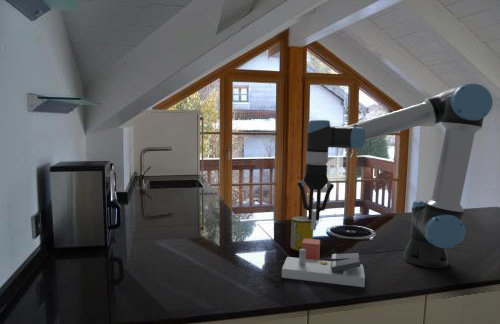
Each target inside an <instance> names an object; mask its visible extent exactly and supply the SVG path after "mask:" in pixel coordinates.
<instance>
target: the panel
mask: <svg viewBox="0 0 500 324" xmlns="http://www.w3.org/2000/svg"><path fill="white" fill-rule="evenodd" d="M298 252H299V255H298V257H291V256H287V257H286V259H285V261H284V262H283V263H284V264H283V265H282V268H281V278H284V279H292V280H298V281H299V280H301V281H308V282H317V283H326V284H335V285H342V286H351V287H359V288H365V286H366V285H365V283H366V282H365V281H366V275H365V269H364V265H363V264H361V263H360V266H361V267H357V268H351V269H346V270H341V271H336V272H332V270H331V260H330V261H329V260H321V259H319V260H313V259H306V250H305V249H300V251H298Z"/></svg>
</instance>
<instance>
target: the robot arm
mask: <svg viewBox="0 0 500 324" xmlns="http://www.w3.org/2000/svg"><path fill="white" fill-rule="evenodd" d="M493 100H494V99H493V96H492V94H491V92H490V91H489V90H488V88H486V87H485V86H484V85H481V84H478V83H463V84H461V85H458V86H456V87H452V88H450V89H447V90H445V91H443V92H441V93H439V94H437V95H434V96H432V97H428V98H425V99H424V100H423V102H422V103H421V102H420V103H418V104H414V105H411V106H408V107H405V108H401V109H399V110H396V111H392V112H389V113H385V114H382V115H379V116H374V117H372V118H369V119H365V120H363V121H358V122H356V123H352V124H349V125H346V126H335V125H331V122H330V120H327V119H311V120H309V122H308V123H307V124H308V125H307V137H306V139H307V140H306V157H305V158H306V159H305V161H306V164H305V176H304V177H303V179H302V180H301V181H298V182H297V186H298V188H299V190H300V195H301V200H302V205H303V209H304V210H306V211H308V216H307V217H308V219H309V220H311V230H313V231H316V229H317V228H316V225H317V221H319V220H320V212H324V211H325V210H326V207H327V204H328V200H329V197H330V195H331V194H330V193H331V192H332V190H333V189H334V188H335V187H334V185H335V184H334V183H331V182H330V181H329V179H328V165H327V164H328V163H329V162H328V160H329V148H332V149H333V148H335V149H336V148H337V149H350V150H351V149H352V150H354V149H355V150H357V149H358V150H359V149H360V150H361V149H363V148H364V146H365V143H366V142H367V141H369V140H373V139H376V138H380V137H384V136H387V135H391V134H394V133H397V132H398V133H399V132H401V131H406V130H409V129H412V128H415V127H418V126H422V125H426V124H431V125H435V124H439V123H441V124H442V126H443V127H444V128H445V132H444V137H443V140H442V146H441V152H440V156H439V162H438V165H437V166H438V167H437V171H436V176H435V177H436V178H435V182H434V186H433V190H432V191H433V192H432V197H431V199H429V200H414V201H413V202H412V205H411V206H412V207H411V217H410V220H411V222H410V237H409V241H408V243H407V245H406V248H405V250H404V252H403V253H404V255H403V259H404V260H405V262H408V263H410V264H412V265H414V266H418V267H422V268H423V267H424V268H429V269H442V268H447V267H448V265H449V256H448V254H447V253H448V252H447V249H450V248H453V247H456V246H458V245H460V243H461V242H462V241H463V239H465V236H466V227H465V225H464V222H463V218H464V214H465V208H463V206H462V205H461V203H462V196H463V192H464V187H465V183H466V182H465V181H466V177H467V172H468V169H469V168H468V167H469V163H470V158H471V153H472V148H473V145H474V139H475V135H476V133H477V132H479V131H480V130H481V129H482V128H483V123H484V118H486V116H488V115H489V113H490V112H491V110H492V107H493V102H494V101H493ZM305 184H306V186H307V188H308V189H309V197H308V199H307V196H306V190H305ZM325 186H326V192H325V195H324V197H323V200H322V204H321V193H322V190H323V189H324V187H325ZM314 190H316V207H315V209H314V210H313V208H314V205H313V204H314ZM307 200H308V201H307Z"/></svg>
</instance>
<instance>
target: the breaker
mask: <svg viewBox="0 0 500 324" xmlns="http://www.w3.org/2000/svg"><path fill="white" fill-rule="evenodd" d="M360 264H361V261H360V256H359V257H354V258H349V259H344V260H340V261H332V262H331V270H332V272H336V271H341V270H346V269H351V268H357V267H361V266H360Z"/></svg>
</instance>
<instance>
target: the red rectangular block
mask: <svg viewBox="0 0 500 324" xmlns="http://www.w3.org/2000/svg"><path fill="white" fill-rule="evenodd" d="M320 248H321V239H315V238H313V239H306V238H304V239H303V242H302V249H305V250H306V259H313V260H320V254H321V253H320V252H321V251H320V250H321V249H320Z"/></svg>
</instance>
